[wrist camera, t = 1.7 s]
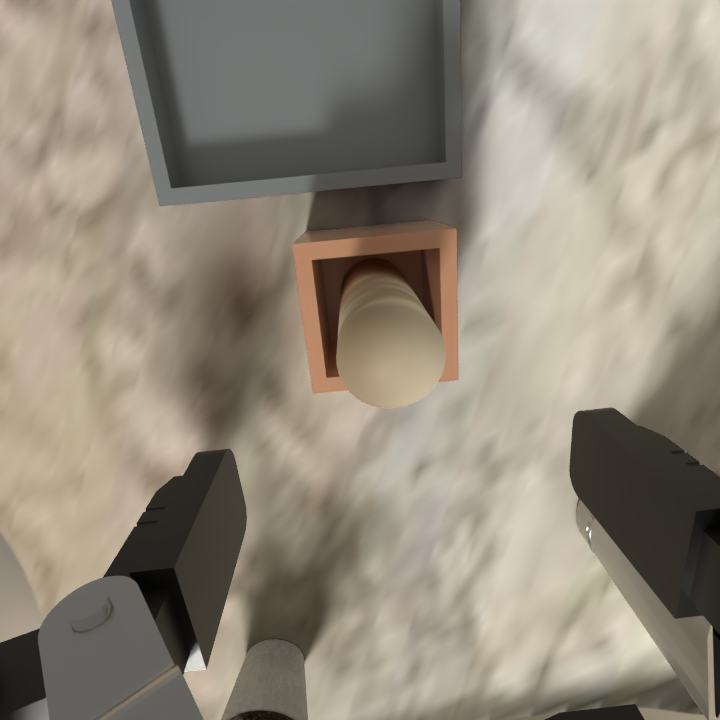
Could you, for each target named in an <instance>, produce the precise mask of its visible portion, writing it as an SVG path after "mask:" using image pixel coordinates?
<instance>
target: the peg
mask: <svg viewBox="0 0 720 720" xmlns="http://www.w3.org/2000/svg"><path fill="white" fill-rule="evenodd" d="M445 361H446V349H445V344H444V340H443V338H442V335H441V333H440V331H439V330H438V328H437V326H436V325H435V323H434V322H433V320H432V319H431V317H430V316H429V314H428V313H427V311H426V310H425V308H424V306H423V305H422V303H421V302H420V300H419V299H418V297H417V296H416V294H415V293H414V291H413V290H412V288H411V287H410V285H409V284H408V282H407V280H406V279H405V277H404V276H403V274H402V273H401V271H400V270H399V269H398V268H397V267H396V266H395V265H394V264H393V263H391V262H389V261H387V260H385V259H381V258H368V259H364V260H361V261H359V262H357V263H356V264H354V265H353V266H352V267H351V268H350V269H349V270H348V272H347V273H346V275H345V277H344V279H343V282H342V287H341V300H340V314H339V327H338V341H337V354H336V362H337V369H338V373H339V376H340V378H341V380H342V382H343V384H344V385H345V387H346V388H347V389H348V390H349V391H350V393H351V394H353V395H354V396H355V397H356V398H358V399H359V400H361V401H362V402H364V403H367V404H369V405H372V406H375V407H380V408H398V407H403V406H407V405H410V404H412V403H415V402H416V401H418V400H420V399H422V398H423V397H424V396H426V395H427V394H428V393H429V392H430V391H431V390H432V389H433V388H434V387H435V386H436V384H437V383H438V381H439V379H440V377H441V375H442V373H443V370H444V367H445Z"/></svg>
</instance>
